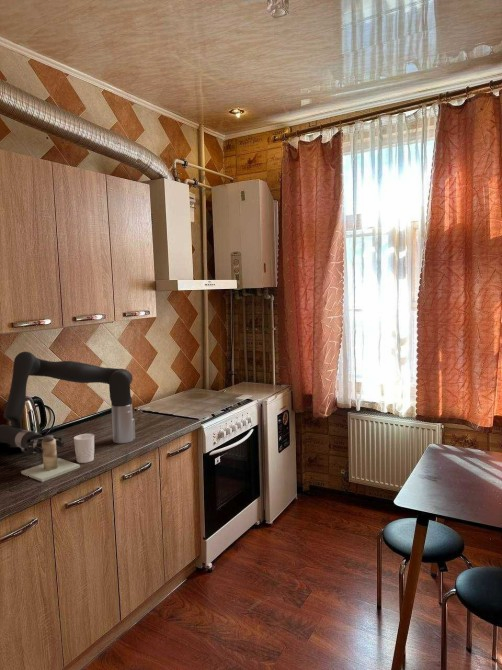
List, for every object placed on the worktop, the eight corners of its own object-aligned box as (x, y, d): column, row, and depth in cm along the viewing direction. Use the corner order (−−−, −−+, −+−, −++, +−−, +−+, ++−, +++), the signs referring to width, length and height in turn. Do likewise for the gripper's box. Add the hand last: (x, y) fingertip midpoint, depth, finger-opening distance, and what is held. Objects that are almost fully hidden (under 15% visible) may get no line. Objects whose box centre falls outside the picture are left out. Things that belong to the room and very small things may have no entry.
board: (59, 460, 186) (59, 458, 186) (80, 467, 178) (80, 464, 178) (21, 473, 173) (21, 471, 173) (42, 481, 165) (42, 479, 165)
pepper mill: (53, 464, 179) (50, 433, 178) (60, 466, 176) (57, 435, 175) (41, 468, 175) (38, 437, 174) (48, 471, 172) (45, 439, 171)
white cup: (71, 460, 186) (70, 436, 185) (90, 455, 192) (89, 432, 191) (80, 465, 180) (78, 441, 179) (98, 460, 186) (97, 436, 185)
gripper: (11, 436, 176) (34, 443, 167) (45, 427, 188) (68, 433, 179) (12, 454, 177) (35, 463, 168) (46, 444, 189) (69, 451, 180)
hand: (52, 447), depth 174 cm, fingers open, 8 cm apart
